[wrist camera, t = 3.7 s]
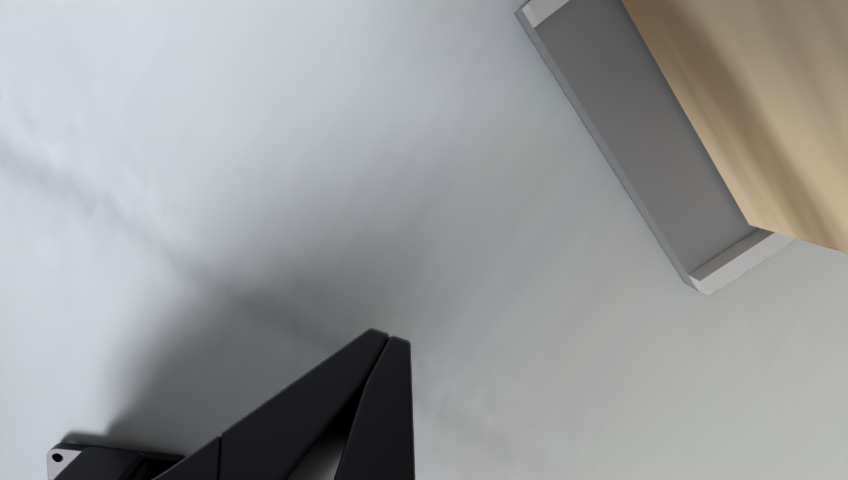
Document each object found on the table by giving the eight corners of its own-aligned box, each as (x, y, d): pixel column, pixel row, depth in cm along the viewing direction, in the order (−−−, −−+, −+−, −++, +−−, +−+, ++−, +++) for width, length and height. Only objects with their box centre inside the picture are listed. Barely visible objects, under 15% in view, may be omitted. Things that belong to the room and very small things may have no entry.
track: (684, 283, 20) (758, 325, 16) (514, 13, 17) (547, -25, 13) (955, 105, 19) (1120, 99, 14) (817, -225, 16) (972, -360, 11)
